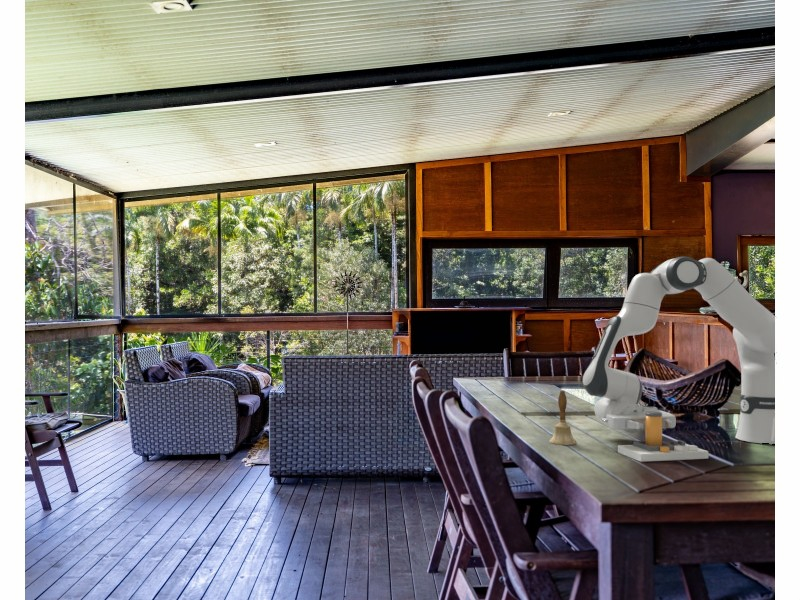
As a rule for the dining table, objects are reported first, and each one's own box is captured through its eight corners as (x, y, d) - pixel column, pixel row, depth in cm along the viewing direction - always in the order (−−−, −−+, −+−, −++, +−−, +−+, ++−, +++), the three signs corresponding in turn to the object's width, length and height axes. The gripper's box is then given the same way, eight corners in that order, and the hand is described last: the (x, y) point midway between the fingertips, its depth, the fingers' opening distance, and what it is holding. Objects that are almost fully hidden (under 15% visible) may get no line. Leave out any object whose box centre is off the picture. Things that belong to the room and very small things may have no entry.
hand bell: (557, 445, 210) (557, 393, 210) (544, 440, 218) (544, 389, 218) (581, 444, 212) (582, 392, 212) (568, 439, 220) (568, 388, 220)
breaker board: (682, 449, 206) (682, 438, 206) (708, 458, 194) (708, 447, 194) (617, 452, 201) (617, 441, 201) (640, 461, 190) (640, 449, 190)
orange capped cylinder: (656, 445, 201) (656, 411, 201) (665, 449, 197) (665, 413, 197) (642, 446, 200) (642, 411, 200) (651, 449, 196) (651, 414, 196)
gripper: (598, 408, 209) (622, 415, 195) (659, 406, 213) (687, 413, 200) (598, 429, 209) (622, 438, 195) (659, 427, 213) (687, 435, 200)
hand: (655, 425), depth 198 cm, fingers open, 8 cm apart
